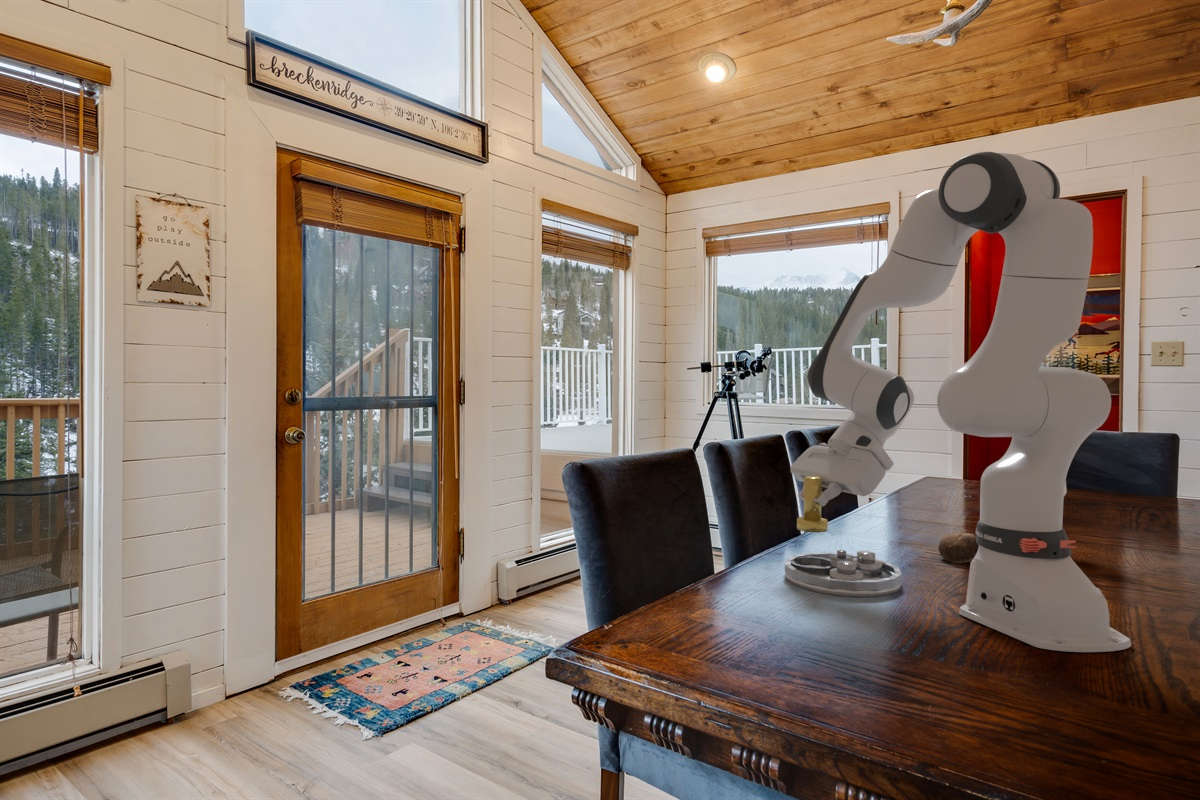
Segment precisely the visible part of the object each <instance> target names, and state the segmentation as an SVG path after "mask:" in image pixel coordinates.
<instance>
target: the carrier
mask: <svg viewBox="0 0 1200 800" xmlns="http://www.w3.org/2000/svg"><path fill="white" fill-rule="evenodd" d="M784 573H785V577H784V578H785V579H786V580H787V581H788V583H790V584H792V585H794V586H795V587H798V588H801V589H802V590H803V589H804V590H806V591H810V592H815V593H818V594H819V593H820V594H823V595H830V596H838V597H847V598H877V597H883V596H890V595H892V594H896V593H897V592H899V591H900V589H901V583H902V575H903V574H902V572H901V569H900V567H898V566H896V565H894V564H892V563H891V562H887V561H884V560H881V559H877V558H876V553H875V552H873V551H872V552H871V551H870V550H869V551H866V550H860V551H859V550H858V551H857V552H856V554H853V553H847V550H843V549H839V550H836V552H809V553H808V552H807V553H800V554H795V555H792V556H790V557H788V558H786V559H785V563H784Z"/></svg>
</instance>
